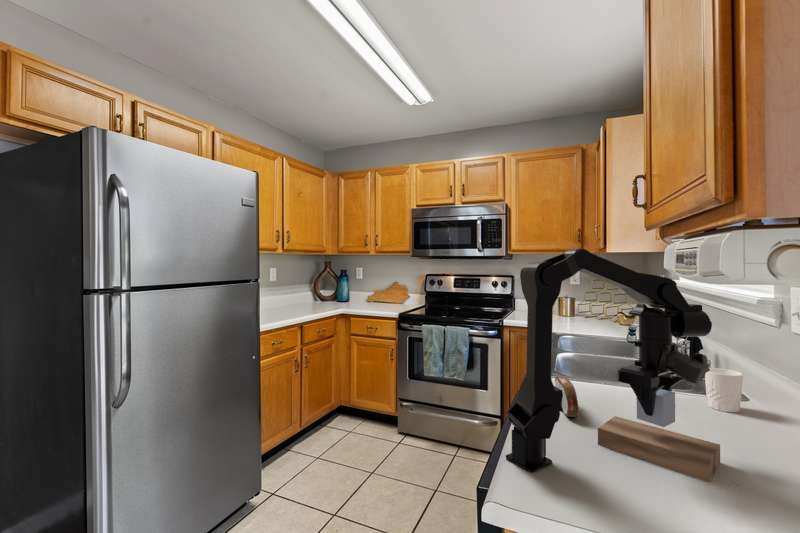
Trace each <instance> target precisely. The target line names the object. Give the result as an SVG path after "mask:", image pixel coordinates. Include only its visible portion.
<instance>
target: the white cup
mask: <svg viewBox="0 0 800 533" xmlns="http://www.w3.org/2000/svg"><path fill="white" fill-rule="evenodd" d="M709 369H710V371H709V372H706V374H705V376H704V383H705V393H706V394H705V395H706V400H707V401H706V402H707V406H708V407H709V408H711V409H714V410H715V411H716V410H717V411H719V412H720V411H721V412H725V413H731V414H732V413H740V412H741V404H742V403H741V402H742V394H743V378H744V377H743V376H744V373H741V371H740V372H739V371H737V370H733V369H727V368H720V367H709Z"/></svg>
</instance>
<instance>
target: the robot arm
mask: <svg viewBox="0 0 800 533" xmlns="http://www.w3.org/2000/svg"><path fill="white" fill-rule="evenodd" d="M579 272H581V273H583V274H586V275H588V276H590V277H593V278H596V279H598V280H600V281H603V282H605V283H606V284H607V283H608V284H610V285H613V286H615V287H617V288H619V289H620V290H622V291H624V292H625V294H626V295H627V296H628V297H629V298H632V299H633V300H635V301H636V302H638V303H637V304H636V305H635V306H634V307H633V308H632V309H631V310H630V311H628V314H629V315H630V316H636V317H638V340H636V341H634V347H638V359H637V360H634V365H627V366H624V367H621V368H619V369H618V370H617V374H616V375H617V380H616V381H618V383H619V382H620V383H624V384H627V385H629V386H630V388H631V390H632V391H633V393H634V395H635V396H636V399H637V398H638V400H639V402H640V404H641V406H642V408H643V410H644V412H645V414H646V415H649V416H652V415H653V411H654V405H655V398H656V392H657V391H658V390H660V389H663V390H667V391H671V392H673V389H674V386H675V385H677V384H679V383H681V382H682V381H684V380H685V381H687V382H689V383H691V384H697V383H698V382H702V381H703V380H704V379H705V374H706V372H709V371H710V369H709V368H710V364H709V363H708V359H707V355H704V354H702V353H700V352H695V353H693V354H691V355H689V353H688V354H687V353H686V354H685V353H682V352H680V351H679V346H678V345H677V343H676V342H675V343H674V342H673V337H674V338H686V337H687V338H688V337H689V338H694V337H695V338H696V337H699V338H701V337H707V335H709V334H710V332H711V331H712V328H713V327H712V326H713V322H712V321H711V318H710V317H709V315H708V314H707V313H706V312H705V311H704V310H703V305H702V304H696V303H688V302H687V300H686V299H685V297H684V296H683V294H682V292H681V291H680V289H679V288H678V286H677V285H678V284H677V282H676V281H675V280H674V279H672V278H670V277H665V276H660V275H656V274H652V273H651V274H649V273H643V272H638V271H636V270H633V269H631V268H628V267H625V266H623V265H621V264H618V263H617V262H614V261H611V260H610V259H606V258H604V257H602V256H600V255H597V254H594V253H592V252H590V251H589V250H588V249H585V248H572V249H568V250H566V251H565V252H562V253H561V254H558V255H555V256H553V257H550V258H548V259H544V260H542V261H530V262H528V263H526V264H525V265H524V266H523V267H521V269H520V274H519V278H520V280H519V281H520V284H521V292H522V294H523V297H524V299H525V302H526V306H527V321H526V324H527V325H526V327H527V328H526V362H525V363H526V365H525V366H526V369H525V370H526V371H525V376H524V378H523V380H522V382H521V383H520V385H519V392H518V394H517V395H518V396H517V400H516V402H515V403H514V404H513V405H512V406H511V407H510V408H509V409H508V410H507V411H506V416H507V420H508V422H509V423H511V425H513V429H511V452H510V453H508V454H505V459H506V460H508V461H510V462H512V463H514V464H515V465H517V466H519V467H521V468H523V469H524V470H526V471H528V472H529V473H533V472H536V471H538V470H540V469H542V468H545V467H546V466H550V465H551V464H553V459H551V458H548V457H546V456H547V440H548V439H549V440H550V439H551V437H552V433H553V430H554V429H555V425H556V423H558V422H559V420H560V416H561V413H563V409H562V398H563V392H562V390H560V389H559V388H557V387H556V385H555V384H554V383H553V380H552V362H553V361H552V360H553V359H552V357H553V319H554V318H553V316H554V314H553V312H554V310H553V309H554V306H555V304H556V302H557V300H558V298H559V296H560V294H561V290H562V283H563V281H566V280H567V279H570V278H571V277H573V276H575V275H576V274H577V273H579ZM647 305H648V306H649V307H648V306H647ZM677 375H678V376H677Z"/></svg>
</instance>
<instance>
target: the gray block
mask: <svg viewBox="0 0 800 533" xmlns="http://www.w3.org/2000/svg"><path fill="white" fill-rule="evenodd" d="M636 419H637V420H639V421H644V422H646V423H649V424H653V425H655V426H659V427H661V428H662V427H663V428H666V427H667V426H670V425H671V424H674V423H675V422H676V392H674V391H667V390H663V389H660V390H658V391H657V392H656V398H655V405H654V411H653V415H652V416H649V415H646V414H645V412H644V410H643V408H642V406H641V404H640V402H639V400H638V398H637V397H636Z"/></svg>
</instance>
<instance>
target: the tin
mask: <svg viewBox="0 0 800 533" xmlns="http://www.w3.org/2000/svg"><path fill="white" fill-rule="evenodd" d="M554 382H555V387H557V388H559V389H560V390H562V392H563V398H562V409H563V412H562V413H563V414H564V416H565V417H567V418H578V416H579V402H578V395H577V392H576V388H575V386H574V384H573V383H572V382H571V380H569V378H568V377H567V376H566V375H561V376H560V375H559V376H558V375H557V376H555V378H554Z"/></svg>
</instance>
